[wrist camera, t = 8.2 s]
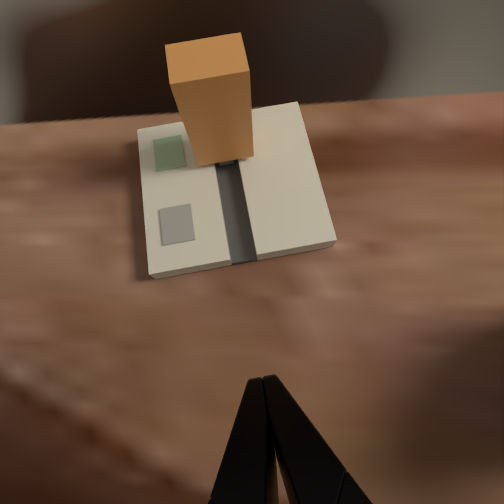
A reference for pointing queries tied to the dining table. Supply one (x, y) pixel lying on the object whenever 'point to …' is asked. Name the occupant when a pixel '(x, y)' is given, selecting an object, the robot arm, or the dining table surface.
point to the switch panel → (232, 197)
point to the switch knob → (213, 97)
